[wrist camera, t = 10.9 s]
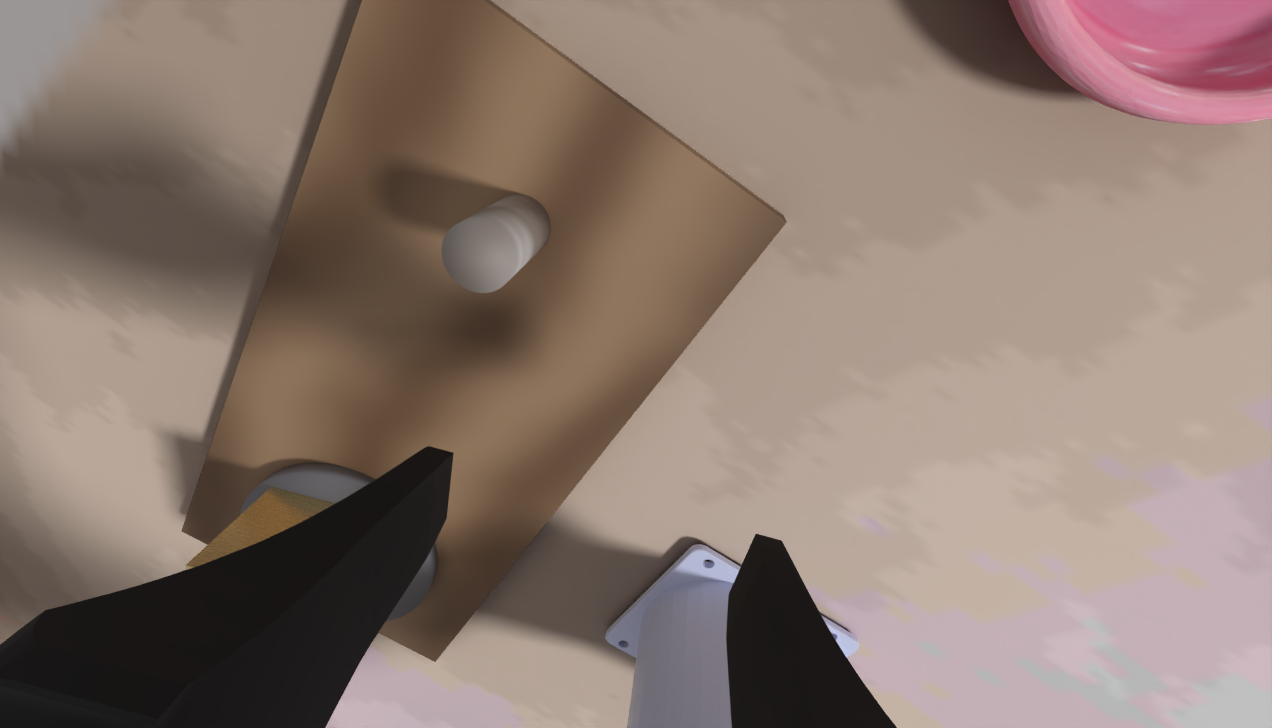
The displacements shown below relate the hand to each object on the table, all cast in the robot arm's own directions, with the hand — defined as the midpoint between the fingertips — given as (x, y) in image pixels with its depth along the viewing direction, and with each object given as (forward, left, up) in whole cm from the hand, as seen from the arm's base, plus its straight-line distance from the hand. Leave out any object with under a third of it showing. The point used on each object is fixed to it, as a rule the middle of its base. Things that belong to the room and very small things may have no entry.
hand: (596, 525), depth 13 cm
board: (+6, +7, -9) cm, 13 cm away
